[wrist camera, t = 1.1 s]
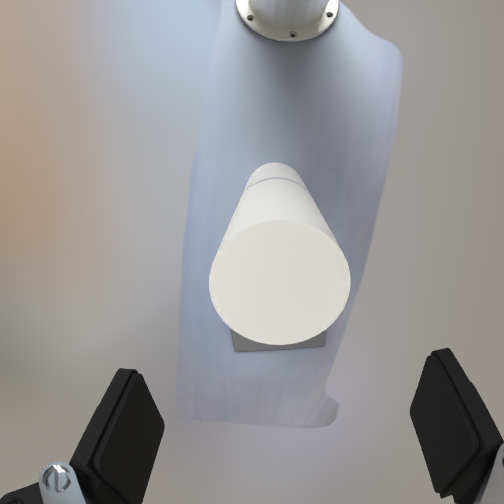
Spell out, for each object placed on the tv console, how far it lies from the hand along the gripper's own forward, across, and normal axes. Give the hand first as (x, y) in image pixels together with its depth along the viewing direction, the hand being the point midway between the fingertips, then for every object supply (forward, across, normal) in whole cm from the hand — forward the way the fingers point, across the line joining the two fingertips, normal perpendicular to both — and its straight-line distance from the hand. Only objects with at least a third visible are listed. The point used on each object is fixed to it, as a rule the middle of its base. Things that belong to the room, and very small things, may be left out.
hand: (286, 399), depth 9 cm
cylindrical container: (+32, 0, 0) cm, 32 cm away
